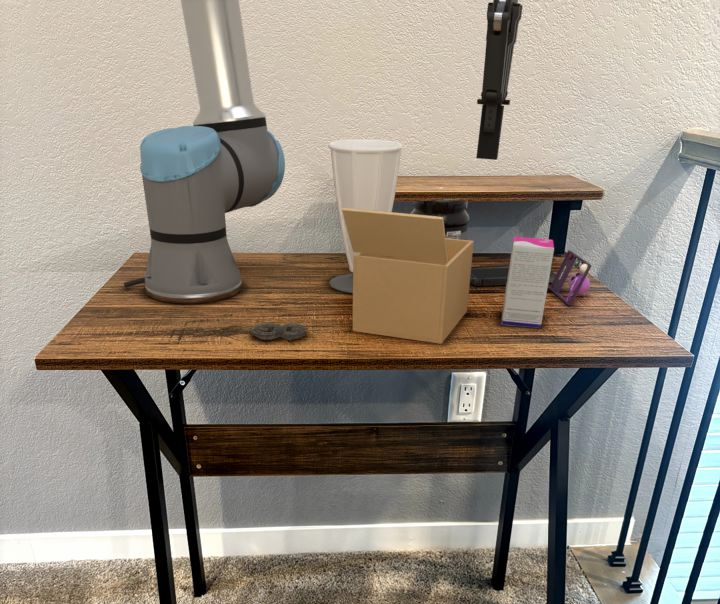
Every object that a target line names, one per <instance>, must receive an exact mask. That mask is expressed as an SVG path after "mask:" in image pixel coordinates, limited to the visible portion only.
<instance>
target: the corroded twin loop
mask: <svg viewBox="0 0 720 604" xmlns="http://www.w3.org/2000/svg"><path fill="white" fill-rule="evenodd" d="M308 330H309V328H308V327H307V326H305V325H303V324H300V323H286V324H278V323H275V322H265V323H260V324H257V325H254V326H251V327H249V331H250V332H251V333H252V336H254V337H255V338H256V339H257V338H258V339H260V340H263V341H267V340H268V341H269V340H274V339H278V338H281V339H284V340H287V341H292V340H297V339H302V338H303V337H305V336H306V334H307V331H308Z"/></svg>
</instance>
